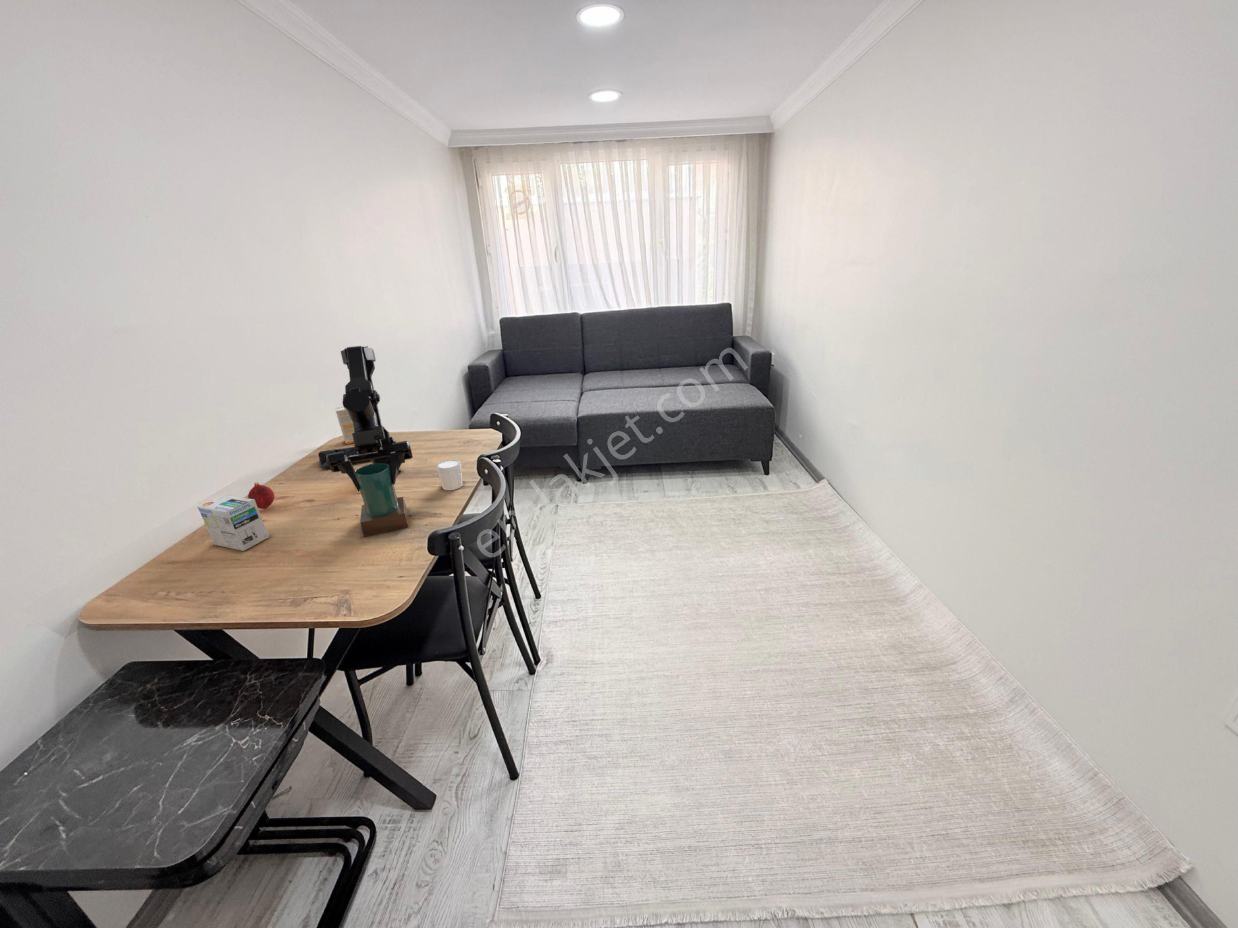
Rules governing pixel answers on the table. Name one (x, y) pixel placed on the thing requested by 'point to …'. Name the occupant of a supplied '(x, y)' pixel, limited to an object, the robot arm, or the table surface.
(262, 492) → the pomegranate
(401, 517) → the block
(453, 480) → the white cylinder
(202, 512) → the light bulb box
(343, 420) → the supplement box
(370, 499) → the cup
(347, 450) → the dark slate chunk
